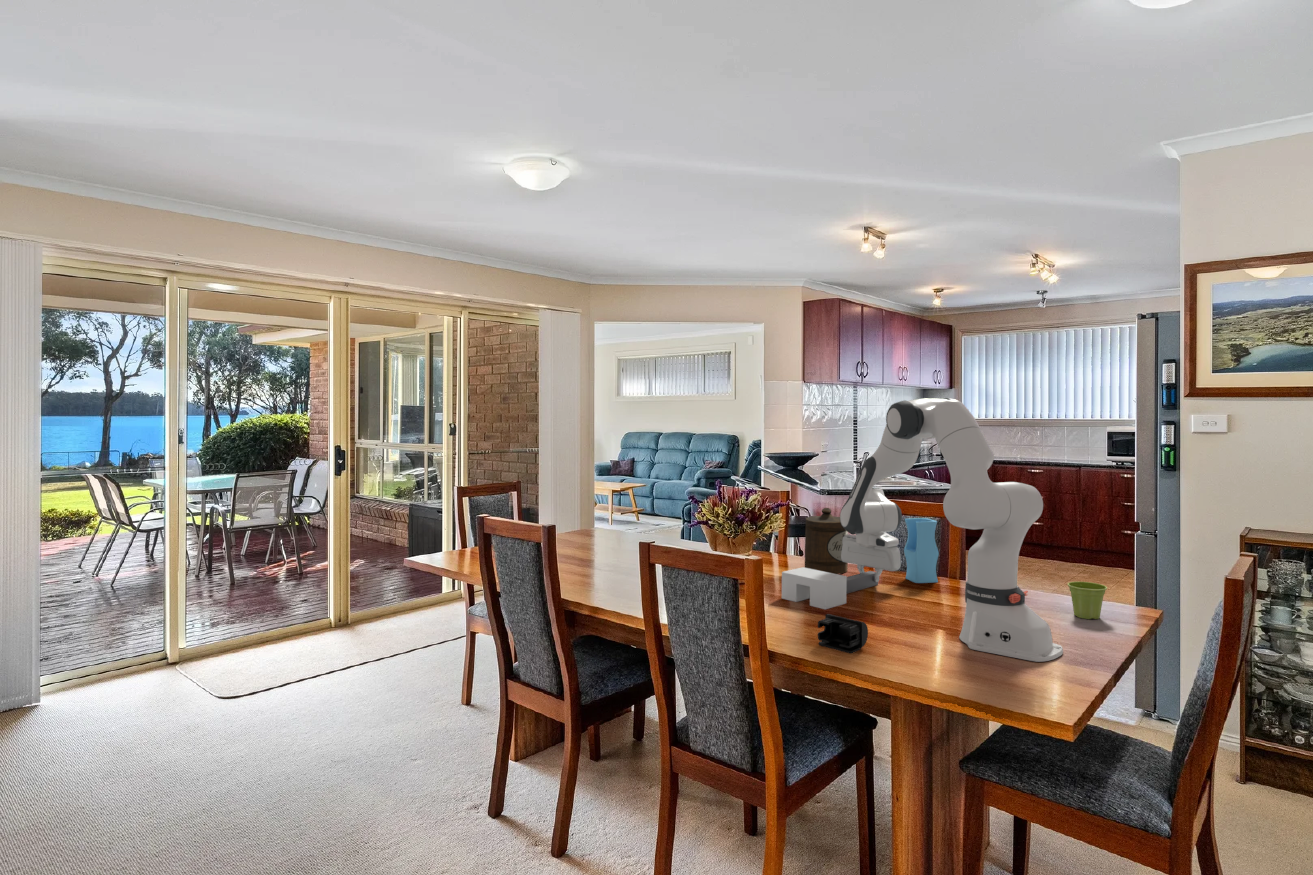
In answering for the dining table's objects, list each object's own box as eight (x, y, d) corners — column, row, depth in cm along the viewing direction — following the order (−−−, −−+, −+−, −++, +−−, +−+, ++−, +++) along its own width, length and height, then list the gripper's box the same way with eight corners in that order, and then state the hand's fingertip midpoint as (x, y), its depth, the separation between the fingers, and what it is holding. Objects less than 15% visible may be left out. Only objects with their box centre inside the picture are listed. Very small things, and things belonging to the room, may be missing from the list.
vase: (903, 577, 246) (904, 518, 245) (925, 576, 248) (925, 517, 247) (916, 583, 238) (916, 522, 238) (938, 582, 240) (939, 521, 239)
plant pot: (1062, 616, 200) (1062, 585, 200) (1072, 609, 207) (1073, 579, 206) (1101, 623, 194) (1101, 591, 193) (1110, 616, 200) (1111, 585, 200)
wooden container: (840, 576, 249) (841, 511, 248) (798, 571, 256) (799, 509, 255) (852, 568, 262) (853, 506, 261) (812, 563, 269) (812, 504, 268)
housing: (846, 603, 214) (846, 576, 214) (825, 609, 208) (825, 581, 208) (802, 592, 227) (802, 567, 226) (781, 598, 220) (781, 571, 220)
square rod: (878, 584, 236) (879, 571, 236) (829, 598, 220) (830, 584, 219) (869, 582, 239) (869, 569, 239) (820, 596, 222) (820, 582, 222)
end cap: (868, 647, 175) (868, 619, 175) (852, 654, 170) (853, 626, 170) (831, 638, 182) (832, 611, 182) (816, 644, 177) (816, 617, 177)
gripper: (837, 534, 241) (836, 576, 242) (892, 543, 226) (892, 587, 226) (848, 532, 245) (848, 573, 246) (903, 540, 230) (903, 584, 230)
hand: (869, 580), depth 236 cm, fingers closed on square rod, 3 cm apart
